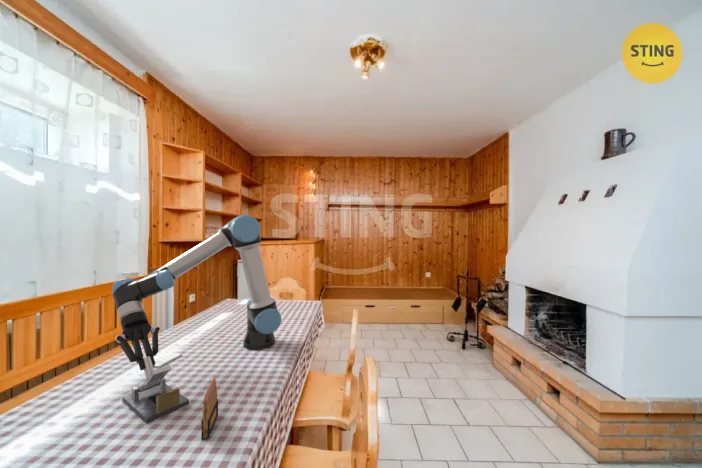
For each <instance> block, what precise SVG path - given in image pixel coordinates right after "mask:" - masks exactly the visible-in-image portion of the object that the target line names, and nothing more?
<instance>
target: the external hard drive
mask: <svg viewBox="0 0 702 468" xmlns="http://www.w3.org/2000/svg"><path fill="white" fill-rule="evenodd" d="M182 355H183V354H182V353H177V352H166V353H162V354H161V355H158V356H157V357H154V360H155V366H154V367H153V368H154V369H160V368H163V367H165V366H167V364H169V363H172V362H173V361H175V360H177V359H179V358H181V357H182Z"/></svg>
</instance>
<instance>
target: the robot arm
mask: <svg viewBox="0 0 702 468" xmlns="http://www.w3.org/2000/svg"><path fill="white" fill-rule="evenodd" d="M260 233H261V225H260V223H259V221H258V220H257V218H255V217H253V216H252V215H247V214H241V215H238V216H236V217H234V218H232V219H231V220H230V221H228V223H226V224H225V225H223V226H222V227H220V228H219V229H218V232H217V233H215V234H213V235H212V236H210V237H208V238H207V239H205V240H203V241H202V242H200V243H198V244H197V245H195V246H193V247H192V248H190V249H188V250H187V251H185V252H184V253H182V254H181V255H179V256H177V257H175V258H174V259H172V260H171V261H168V262H167V263H165V264H164V265H162V266H161V267H159V268H158V269H157V268H156V269H154V270H153V271H152V272H151V273H150V274H149V275H148V276H145V277H143V278H140V279H137V280H135V279H133V278H131V277H130V278H129V277H126V278H121V279H118V280H117V281H115V282H114V283H113V284H112V286H111V290H112V291H111V293H112V298H113V300H114V303H115V307H116V310H117V313H118V318H119V321H120V325H121V328H122V333H121V334H120V335H117V336H116V338H115V341H114V342H115V344H117V345H119V347H120V348H121V350H123V352H124V354H125V356H126V357H127V359H128V360H129V362H130V363H134V362H135V363H136V364H138V366H139V370H140V371H144V375H145V380H146V379H147V378H148V377H149V375H150V374H151V373H152V371H155V368H153V367H154V366H155V360H154V359H155V356H157V355H158V352H159V331H160V326H157V327H152V325H151V324H150V323H149V320H148V319H149V318H148V317H147V313H146V309H145V307H144V304H143V301H142V300H144V299H147V298H149V297H152V296H153V295H156V294H159V293H162V292H163V291H164V292H165V291H168V290H169V289H171V288H173V287H174V286H175V284H176V281H175V280H176V279H177V278H179V277H181V276H182V275H184V274H185V273H187V272H189V271H190V270H193V268H195V267H197V266H199V265H200V264H202V263H203V262H204V261H206V260H208V259H209V258H211V257H212V256H215V254H217V253H219V252H220V251H222V250H224V249H225V248H226V247H232V246H233V247H234V249H235V250H236V251H238V253H239V256H240V260H241V264H242V267H243V268H242V269H243V272H244V277H245V281H246V284H247V288H248V293H249V296H250V299H248V300H247V302H246V303H247V305H246V309H247V310H246V313H247V314H246V316H247V317H246V319H247V320H246V321H247V322H246V325H247V326H246V328H247V329H246V333H245V336H244V339H243V348H244V349H246V350H250V351H251V350H252V351H258V350H259V351H260V350H265V349H269V348H271V347H273V346H274V345H275V344H276V337H275V335H274V332H275V331H277V330H278V329H279V328H280V326H281V323H282V316H281V313H280V311H279V310H278V308H277V307H278V306H277V302H276V299H275V298H274V297H272V296H271V293H270V288H269V284H268V283H269V282H268V281H267V275H266V270H265V267H264V262H263V259H262V255H261V250H260V245H261V244H262V238H261V235H260ZM149 334H151V335H152V337H151V344H150V340H149ZM128 341H130V342H131V345H132V347H133V349H132V347H131V345H130V344H129V342H128ZM141 344H142V346H141ZM142 347H143V349H142ZM143 350H144V353H145V356H146V357H144V354H143Z"/></svg>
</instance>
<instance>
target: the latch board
mask: <svg viewBox="0 0 702 468" xmlns="http://www.w3.org/2000/svg"><path fill="white" fill-rule="evenodd" d="M166 379H167V378H165V377H164V378H163V379H162V380H161V381H160V385H159V386H156V387H154V388H151V389H148V390H146V391H143V392H140V393H139V388H138V387H139V386H137V385H135V386H133V387H131V393H128V394H126V395H122V397H121V398H122V403H124V404H125V406H127V407H128V409H131V411H133V413H135V414H136V416H138V417H139V418H140V419H141V420H142V421H143V422H144V423H145V424H146V425H148V424H149V423H152V422H154V421H157V420H159V419H160V418H163V417H165V416H168V415H170V414H171V413H174V412H176V411H179V410H180V409H182V408H184V407H187V406H188V405H190V399H189V398H188V397H186V396H184V395H183V394H181V393H180V387H178V386H176V387H174V388H173V387H171V386H170V385H168V384H167V380H166Z"/></svg>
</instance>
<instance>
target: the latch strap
mask: <svg viewBox="0 0 702 468" xmlns="http://www.w3.org/2000/svg"><path fill="white" fill-rule="evenodd" d="M171 370H172V367H171V365H170V364H169V365H165V366H162V367H160V368H156V369H154V371H152V373H151V374H150V375H149V377H148V378H147V379H146V378H145V380H144V382H142V384H141V385H139V386H137V387H138V388H139V393H140V392H143V391H146V390H148V389H151V388H154V387H156V386H159V385H160V381H161V380H162V379H163V378H165V377H166V376H167V375H168V373H169V372H170V371H171Z"/></svg>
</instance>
